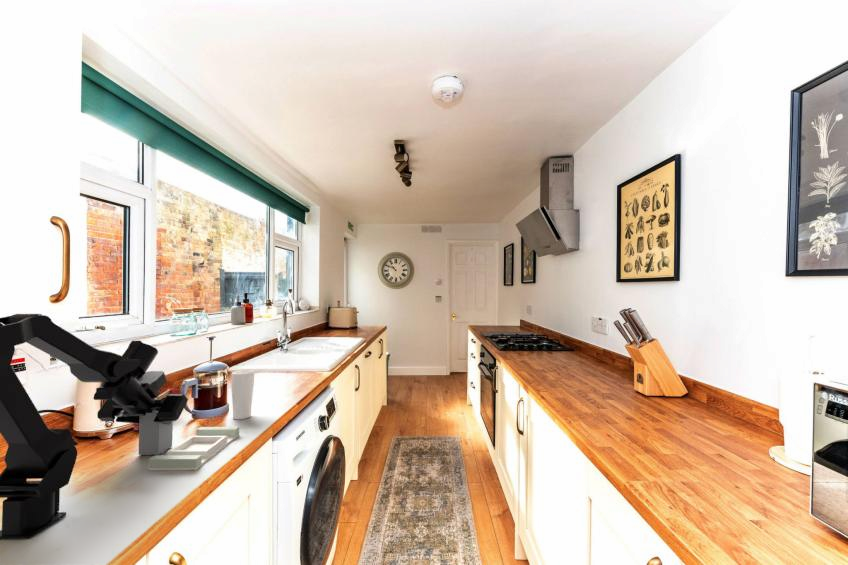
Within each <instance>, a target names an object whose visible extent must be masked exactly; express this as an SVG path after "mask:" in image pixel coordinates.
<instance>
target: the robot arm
mask: <svg viewBox="0 0 848 565" xmlns="http://www.w3.org/2000/svg"><path fill="white" fill-rule="evenodd" d="M25 343H27V344H29V346H30V345H31V346H33V347H34V348H36V349H38V350H40V351H41V352H44V353H45V354H47V355H50V356H51V357H53V358H55V359H57V360H58V361H60V362H62V363H64V364H65V365H67V366H68V367H69V372H70V374H71V375H72V376H74V377H75V378H77V379H78V380H79V381H80V382H81V383H100V385H99V387H96V388H95V392H94V394H93V400H95V401H105V402H103V404H102V405H101V407H100V409H99V410H98V411H97V414H96V415H97V419H98V420H100V421H101V422H114V421H115V422H117V423H125V424H126V423H127V424H134V423H136V424H139V416H145V415H146V414H151V413H152V412H153V410H156V412H158V413H157V416H156V417H155V419H154V421H153V422H157V423H162V424H168V425H170V424H171V422H172V421H173V422H176V421H177V420H179V419H180V417H181V415H182V413H183V411H184V409H185V407H186V405H187V403H188V401H189V399H188V397H187V396H186V395H185V394H184V393H181V394H170V395H167V396H164V397H163V398H161V399H159V400H155V398H157V397H158V396H159V395H161V393H160V392H159V391H160V389H161V388H163V387H164V385H166V384H167V383H168V380H167V377H166V374H165V372H164V371H163V370H153V371H151V370H150V371H148V369H149V367H150V366H151V365H152V363H153V361H154V360H155V359H156V357H157V355H158V354H159V350H158V348H156V347H155V346H152V345H150V344H148V343H144V342H143V341H141V340H131V341H130V343H129V345H128V347H127V348H126V349H125V351H124V353H122V355H120V354H117V353H115V352H112V351H107V350H104V349H99V348H96V347H93V346H92V345H90V344H88V343H87V342H86V341H84V340H82V339H81V338H79V337H78V336H76V335H74V333H73V334H72V333H71V332H70V331H69V330H67V329H64V328H63V327H62V326H61V325H59V324H57V323H55V322H53V321H52V319H51V318H50V317H49V316H48V315H45V314H42V313H15V314H13V315H9V316H8V315H7V316H3V317H0V435H1V436H2V438H3V439H4V441H5V442H6V444H7V448H6V452H5V456H4V463H5V464H6V465H5V466H6V467H4V469H3V470H2V472H1V473H0V498H1V499H2V498H5V499H3V500H2V510H1V512H2V513H1V529H0V540H4V539H5V540H7V539H8V540H9V539H11V540H12V539H15V540H16V539H24V540H25V539H30V538H33V537H34V536H36V535H37V534H39V533H41V532H42V531H44V530H45V529H47V528H48V527H50V526H52V525H53V524H55V523H56V522H58V521H60V520H61V519H62V518H65V517H66V516H67V512H66V511H60V491H61V490H60V489H62V488H64V487H66V486H68V485H69V484H70V481H71V480H70V479H71V478H72V477H71V476H72V473H73V471H74V467H75V464H76V462H77V457H78V450H77V447H76V446H78V445H79V442H77V441H75V440H74V438H73V435H72V432H71V430H70V429H68V428H49V427H48V425H47V424H46V422H45V420H44V419H43V417H42V415H41V414H40V412H39V410H38V409H37V407H36V405H35V404H34V402H33V400H32V399H31V397H30V395H29V393H28V392H27V390H26V388H25V387H24V386H23V384H22V382H21V381H20V378H19V376H18V375H17V373H16V372H15V371H14V369H13V367H12V361H13V358H14V355H15V352H16V346H20V345H23V344H25ZM32 479H33V480H32ZM37 479H38V480H37ZM40 479H41V480H40Z"/></svg>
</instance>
